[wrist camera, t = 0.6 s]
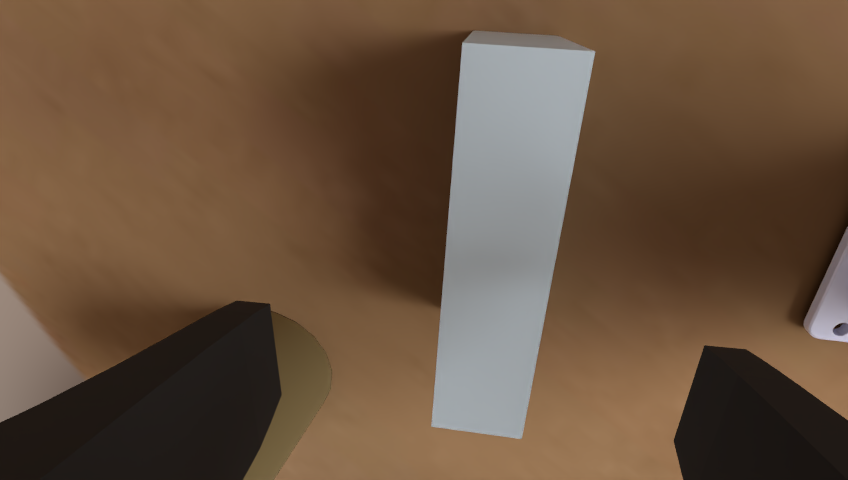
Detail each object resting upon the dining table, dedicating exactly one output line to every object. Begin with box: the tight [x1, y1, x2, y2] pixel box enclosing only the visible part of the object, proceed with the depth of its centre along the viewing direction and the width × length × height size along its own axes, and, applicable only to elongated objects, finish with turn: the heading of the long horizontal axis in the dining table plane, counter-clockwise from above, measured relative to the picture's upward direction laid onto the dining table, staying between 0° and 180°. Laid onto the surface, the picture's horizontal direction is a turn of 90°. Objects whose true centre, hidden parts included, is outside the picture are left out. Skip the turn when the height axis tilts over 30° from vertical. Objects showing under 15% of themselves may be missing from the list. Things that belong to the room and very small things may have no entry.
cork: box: [243, 312, 332, 480], centre depth 17 cm, size 6×6×11 cm
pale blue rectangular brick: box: [431, 30, 595, 439], centre depth 14 cm, size 10×2×6 cm, turn 177°
